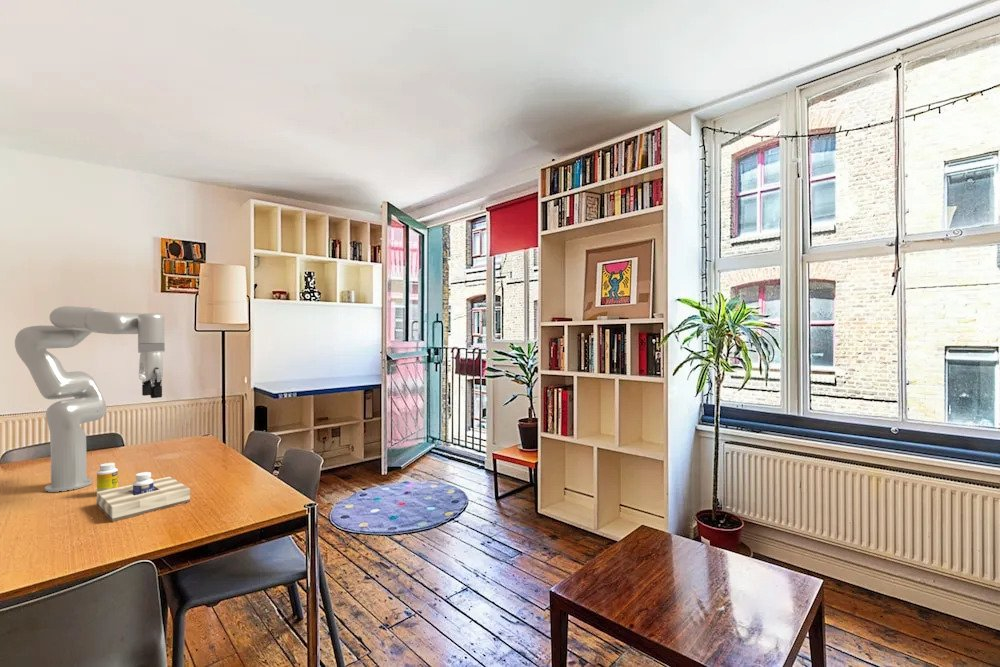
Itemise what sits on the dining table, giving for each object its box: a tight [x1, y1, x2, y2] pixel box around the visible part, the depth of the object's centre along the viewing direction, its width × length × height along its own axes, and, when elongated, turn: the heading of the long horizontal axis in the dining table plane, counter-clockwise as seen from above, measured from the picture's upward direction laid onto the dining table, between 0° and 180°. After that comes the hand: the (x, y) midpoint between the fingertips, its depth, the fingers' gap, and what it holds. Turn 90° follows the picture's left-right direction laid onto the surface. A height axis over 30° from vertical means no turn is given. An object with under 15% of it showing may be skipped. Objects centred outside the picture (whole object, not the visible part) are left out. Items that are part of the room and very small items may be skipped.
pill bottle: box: [132, 471, 154, 495], centre depth 150 cm, size 5×5×9 cm
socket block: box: [96, 476, 191, 523], centre depth 150 cm, size 20×20×4 cm
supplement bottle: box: [96, 462, 119, 493], centre depth 160 cm, size 6×6×10 cm
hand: (152, 396), depth 163 cm, fingers open, 9 cm apart
